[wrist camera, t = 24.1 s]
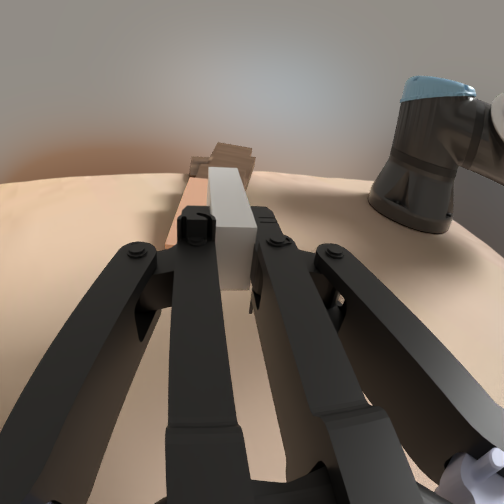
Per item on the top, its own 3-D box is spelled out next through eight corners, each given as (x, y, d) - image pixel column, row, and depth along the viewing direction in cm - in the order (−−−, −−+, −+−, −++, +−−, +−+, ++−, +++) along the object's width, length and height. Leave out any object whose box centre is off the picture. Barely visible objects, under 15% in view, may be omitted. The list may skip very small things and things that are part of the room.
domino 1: (166, 255, 30) (190, 188, 38) (228, 263, 30) (239, 193, 38) (164, 244, 29) (189, 177, 36) (229, 251, 29) (240, 182, 37)
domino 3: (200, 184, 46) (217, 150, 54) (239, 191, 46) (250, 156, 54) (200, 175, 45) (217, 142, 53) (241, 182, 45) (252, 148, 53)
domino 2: (188, 184, 48) (191, 164, 57) (227, 186, 49) (223, 166, 59) (189, 175, 47) (191, 156, 57) (228, 177, 49) (224, 158, 58)
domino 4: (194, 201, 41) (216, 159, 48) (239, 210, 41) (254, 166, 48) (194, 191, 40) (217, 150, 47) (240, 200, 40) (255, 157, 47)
